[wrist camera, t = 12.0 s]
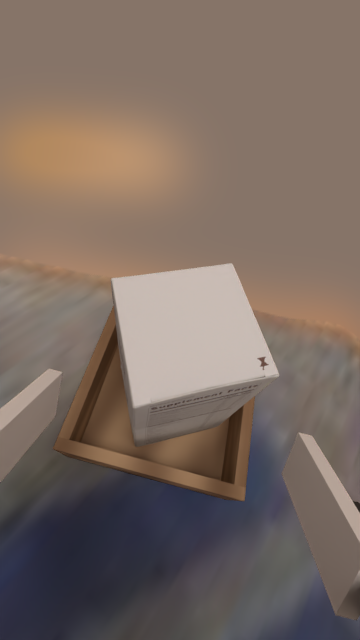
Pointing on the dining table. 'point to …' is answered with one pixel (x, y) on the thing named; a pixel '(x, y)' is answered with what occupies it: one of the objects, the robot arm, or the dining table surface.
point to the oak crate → (158, 458)
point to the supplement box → (187, 350)
